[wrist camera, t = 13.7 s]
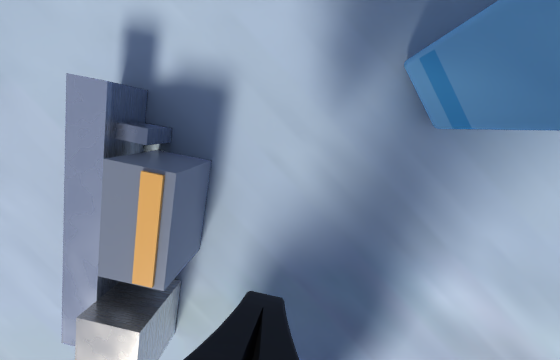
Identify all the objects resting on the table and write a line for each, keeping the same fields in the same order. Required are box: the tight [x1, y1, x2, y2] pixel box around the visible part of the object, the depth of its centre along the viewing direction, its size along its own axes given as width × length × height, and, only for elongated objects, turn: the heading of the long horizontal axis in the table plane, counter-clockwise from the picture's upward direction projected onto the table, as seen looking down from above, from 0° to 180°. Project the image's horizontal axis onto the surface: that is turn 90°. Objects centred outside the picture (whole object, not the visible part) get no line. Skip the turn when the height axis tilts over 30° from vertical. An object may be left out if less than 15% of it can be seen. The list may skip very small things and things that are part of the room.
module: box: [98, 150, 211, 291], centre depth 17 cm, size 7×4×6 cm, turn 170°
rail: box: [61, 73, 181, 360], centre depth 18 cm, size 19×6×6 cm, turn 169°
